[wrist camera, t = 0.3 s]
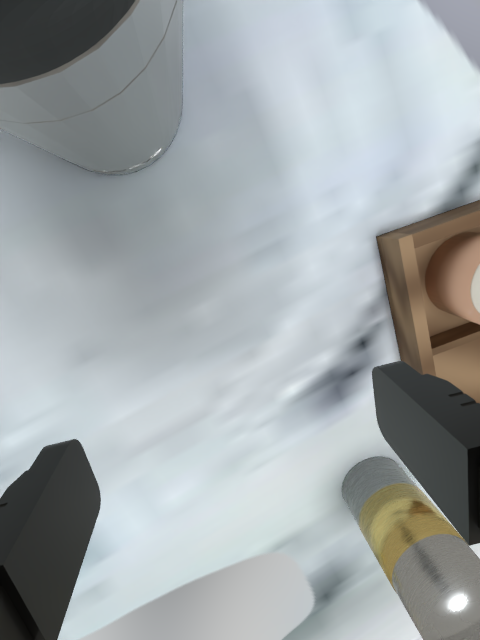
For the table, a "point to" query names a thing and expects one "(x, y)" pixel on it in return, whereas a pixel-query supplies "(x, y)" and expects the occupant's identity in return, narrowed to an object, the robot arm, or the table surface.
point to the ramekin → (456, 276)
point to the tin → (416, 550)
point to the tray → (417, 309)
